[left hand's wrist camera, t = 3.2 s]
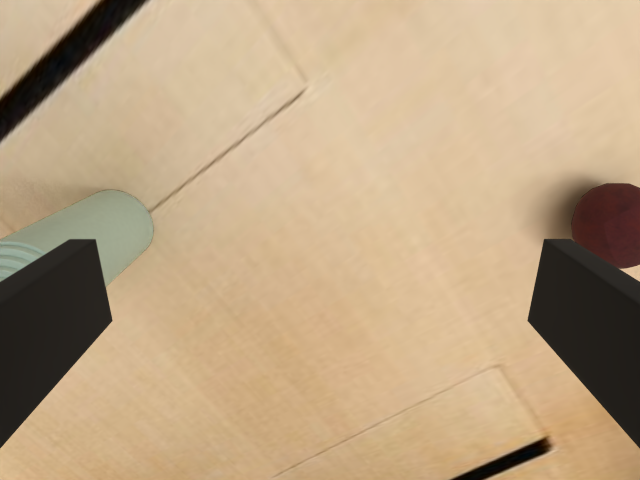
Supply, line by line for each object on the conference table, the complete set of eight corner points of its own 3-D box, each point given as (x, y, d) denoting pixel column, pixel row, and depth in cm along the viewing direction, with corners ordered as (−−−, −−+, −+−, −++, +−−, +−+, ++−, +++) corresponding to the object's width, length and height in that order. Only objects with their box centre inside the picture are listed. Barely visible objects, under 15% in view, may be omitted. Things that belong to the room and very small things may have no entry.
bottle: (162, 207, 41) (33, 307, 22) (142, 268, 43) (11, 403, 25) (89, 178, 40) (-107, 257, 21) (73, 241, 42) (-117, 363, 24)
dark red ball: (573, 262, 42) (619, 295, 36) (543, 201, 40) (586, 224, 34) (643, 224, 41) (705, 251, 34) (616, 159, 39) (677, 174, 32)
